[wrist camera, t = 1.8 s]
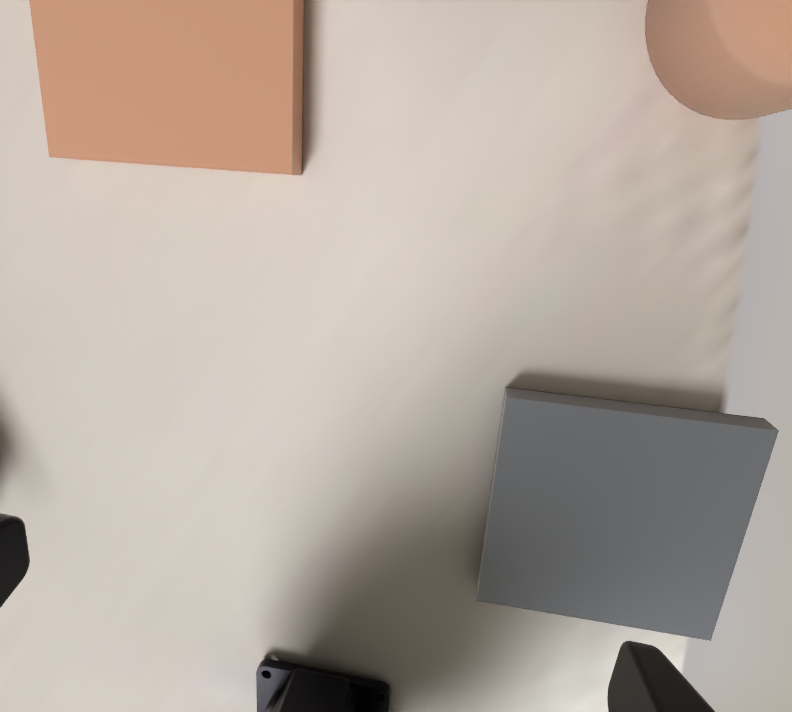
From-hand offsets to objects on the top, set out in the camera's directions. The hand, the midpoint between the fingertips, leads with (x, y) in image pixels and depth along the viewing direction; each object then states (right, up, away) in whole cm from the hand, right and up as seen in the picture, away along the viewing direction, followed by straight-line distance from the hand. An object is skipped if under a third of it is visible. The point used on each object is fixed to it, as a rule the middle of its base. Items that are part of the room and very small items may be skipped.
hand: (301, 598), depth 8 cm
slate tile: (+10, -2, +13) cm, 16 cm away
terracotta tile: (-6, +15, +10) cm, 19 cm away
